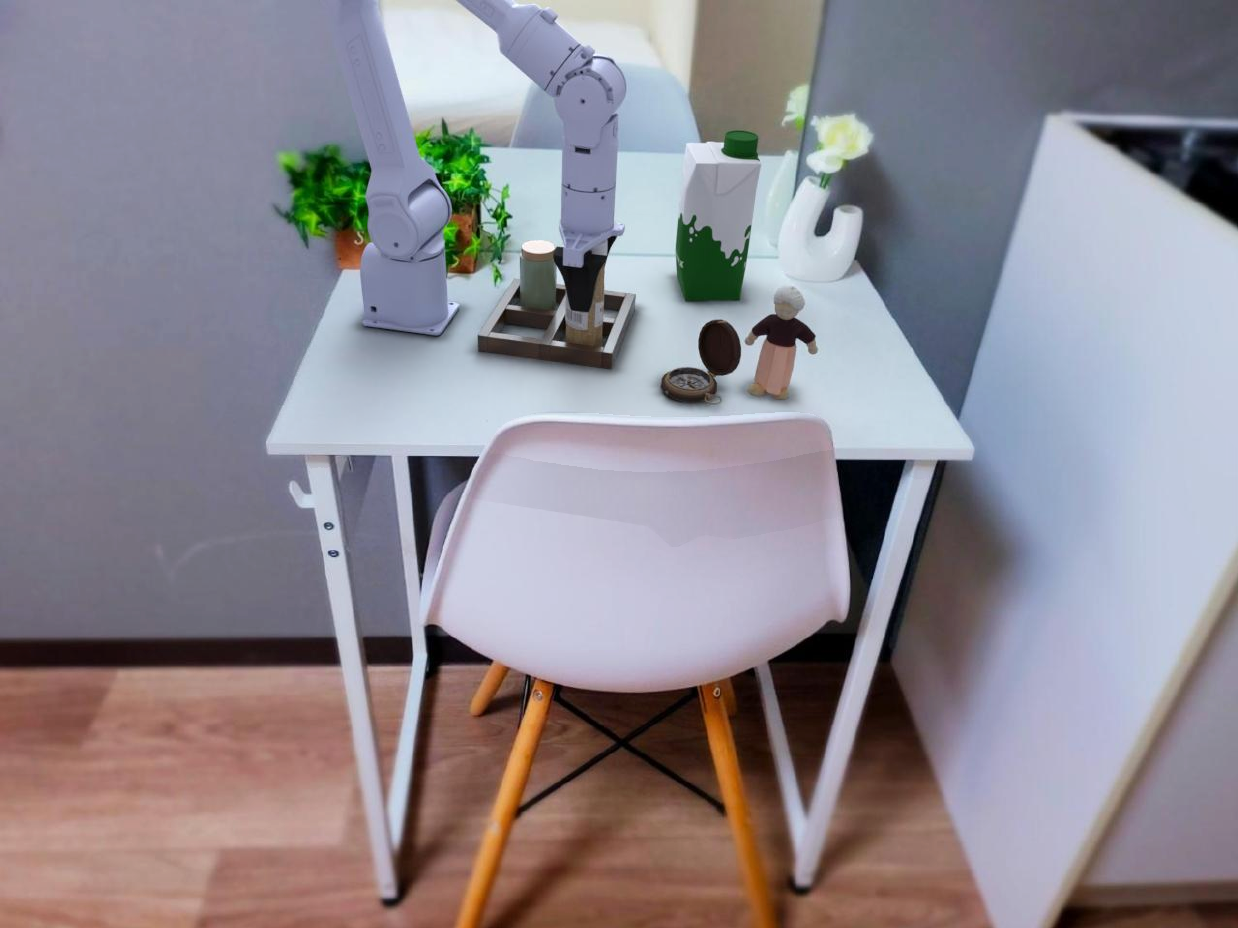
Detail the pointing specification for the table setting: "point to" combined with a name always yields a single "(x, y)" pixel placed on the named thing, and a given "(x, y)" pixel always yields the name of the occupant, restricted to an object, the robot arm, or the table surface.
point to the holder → (554, 330)
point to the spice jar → (538, 275)
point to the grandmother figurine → (780, 343)
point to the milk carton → (716, 216)
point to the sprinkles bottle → (589, 324)
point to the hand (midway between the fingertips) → (584, 300)
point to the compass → (706, 364)
